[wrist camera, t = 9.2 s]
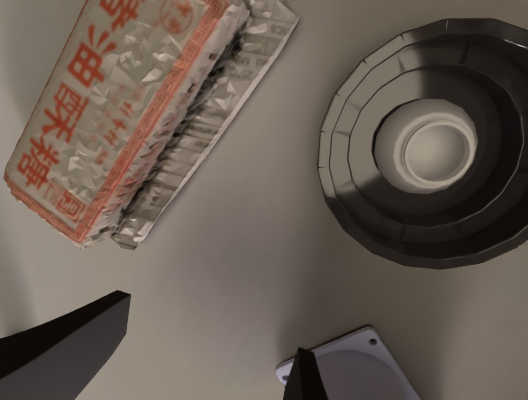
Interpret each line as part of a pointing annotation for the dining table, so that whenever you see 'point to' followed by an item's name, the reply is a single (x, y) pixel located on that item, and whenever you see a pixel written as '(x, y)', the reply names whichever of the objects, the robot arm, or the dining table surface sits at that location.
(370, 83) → the bowl
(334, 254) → the dining table surface
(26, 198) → the packaged product
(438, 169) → the white jar
